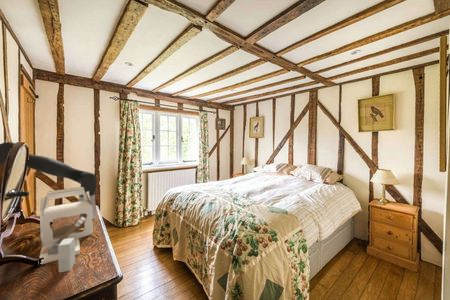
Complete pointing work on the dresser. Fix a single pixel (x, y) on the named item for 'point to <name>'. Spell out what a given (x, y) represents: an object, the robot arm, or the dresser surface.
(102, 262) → the dresser surface
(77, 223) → the breaker lever
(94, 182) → the robot arm
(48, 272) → the dresser surface
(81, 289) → the dresser surface
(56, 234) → the gable box
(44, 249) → the switch panel
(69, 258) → the skincare box
